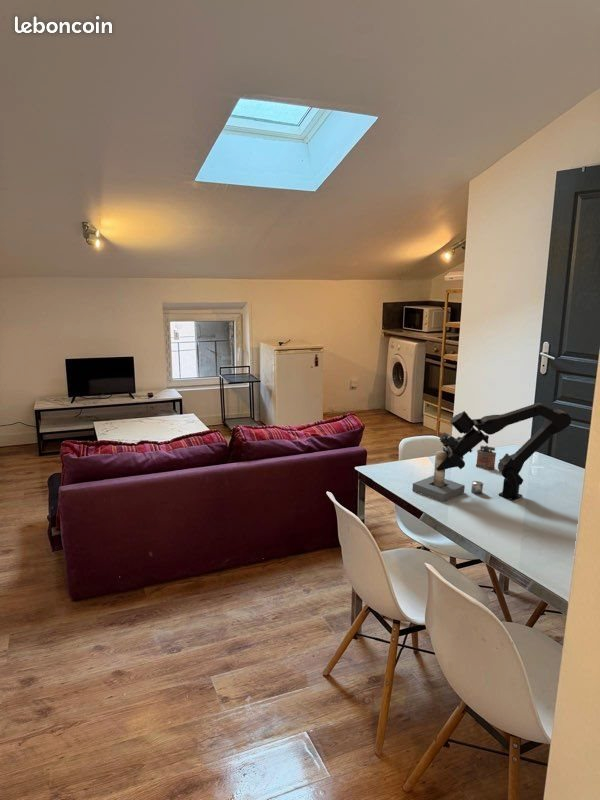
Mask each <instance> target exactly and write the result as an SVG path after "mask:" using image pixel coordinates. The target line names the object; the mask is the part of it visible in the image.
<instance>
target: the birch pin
mask: <svg viewBox="0 0 600 800" xmlns="http://www.w3.org/2000/svg"><path fill="white" fill-rule="evenodd" d="M446 454H447V453H446V452H444V451H443V450H437V451H435V459H434V471H433V476H434V483H433V486H436V487H439V488H442V487H444V480H445V479H446V477H445V476H446V469H445V470H441V471H437V467H438V466H439V465H440V464H441V463H442V462H443V461H444V460H445V458H446Z"/></svg>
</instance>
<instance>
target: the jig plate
mask: <svg viewBox="0 0 600 800" xmlns="http://www.w3.org/2000/svg"><path fill="white" fill-rule="evenodd" d="M433 483H434V475H431V476H428V477H426V478H424V479H421V480H418V481H415V482H414V483H412V490H413V492H415V491H416V492H415V493H418V492H419V493H418V494H420V493H422V494H421V495H423V494H424V495H423V496H426V495H427V496H426V497H428V496H430V497H429V498H431V497H433V498H432V499H434V498H435V499H434V500H437V499H438V500H437V501H439V500H441V502H442V501H444V502H446V501H448V500H451V499H453V498H455V497H458V496H460V495H463V494H464V493H465V488H466V487H465V486H466V485H465V484H461V483H458V482H455V481H453V480H449V479H448V478H445V480H444V487H442V488H439V487H436V486H433ZM412 490H411V491H412Z"/></svg>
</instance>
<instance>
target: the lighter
mask: <svg viewBox="0 0 600 800" xmlns="http://www.w3.org/2000/svg"><path fill="white" fill-rule="evenodd" d="M495 451H496V447H493V446H489V445H480V449H477V450H476V452H477V454H476V455H477V456H476V463H475V467H476V468H478V467H479V468H478V469H482V468H484V469H483V470H487V469H488V471H494V470H495V469H496V467H495V465H496V456H497V452H495Z"/></svg>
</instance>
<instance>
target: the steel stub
mask: <svg viewBox="0 0 600 800" xmlns="http://www.w3.org/2000/svg"><path fill="white" fill-rule="evenodd" d="M483 487H484V483H483V482H482V481H478V480H474V481H473V480H472V482H471V494H473V495H477V496H478V495H479V496H480V495H482V494H483V490H484V489H483Z"/></svg>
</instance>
